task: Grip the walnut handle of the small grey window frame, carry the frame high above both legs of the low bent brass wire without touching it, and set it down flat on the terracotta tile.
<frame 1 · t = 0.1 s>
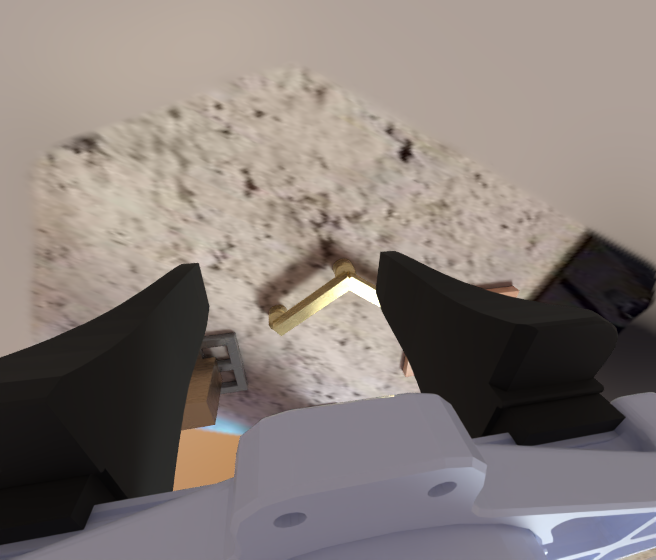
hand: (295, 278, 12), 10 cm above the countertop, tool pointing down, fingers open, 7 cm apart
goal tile: (454, 331, 30), on the countertop
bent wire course: (342, 267, 24), on the countertop
grey window frame: (202, 365, 27), on the countertop
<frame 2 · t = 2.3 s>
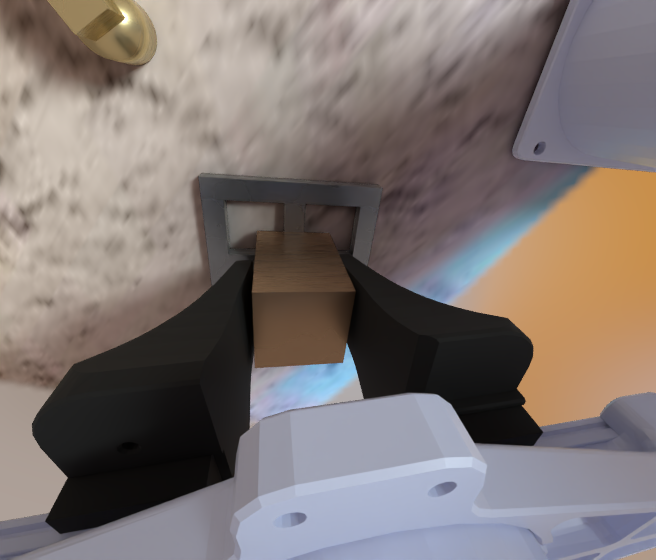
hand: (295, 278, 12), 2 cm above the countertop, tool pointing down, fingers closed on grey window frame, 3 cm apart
grey window frame: (291, 257, 13), on the countertop, touching gripper
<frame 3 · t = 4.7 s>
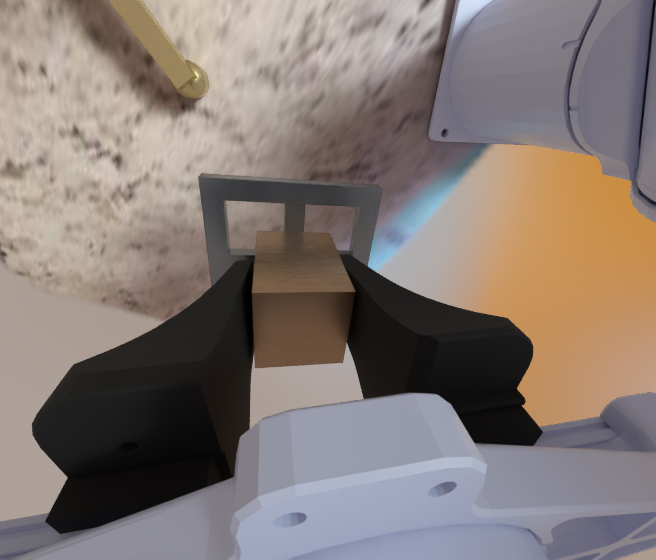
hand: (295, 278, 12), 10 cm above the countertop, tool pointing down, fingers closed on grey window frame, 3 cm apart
grey window frame: (291, 257, 13), point 8 cm above the countertop, touching gripper
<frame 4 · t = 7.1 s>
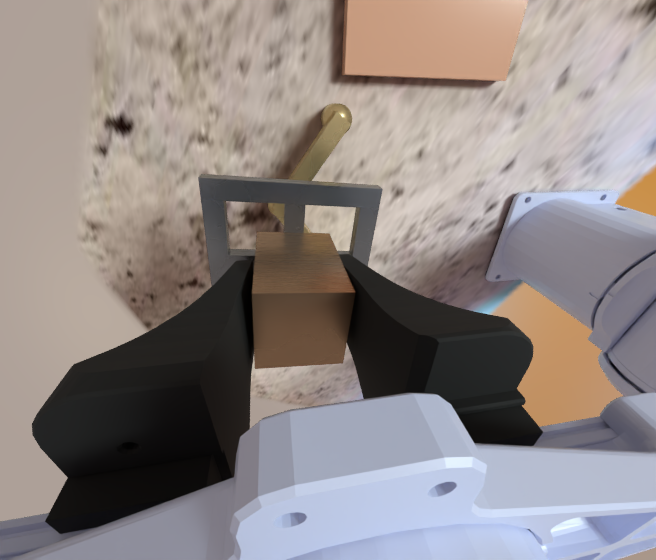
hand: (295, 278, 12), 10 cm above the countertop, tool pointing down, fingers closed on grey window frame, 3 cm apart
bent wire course: (279, 198, 20), on the countertop
grey window frame: (291, 258, 13), point 8 cm above the countertop, touching gripper
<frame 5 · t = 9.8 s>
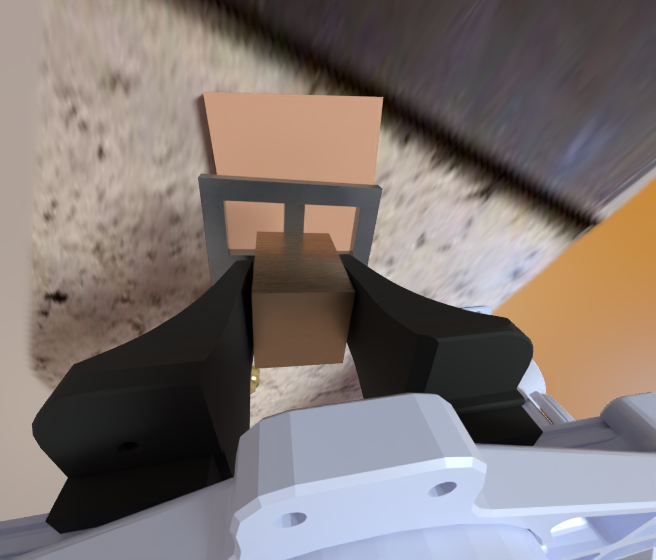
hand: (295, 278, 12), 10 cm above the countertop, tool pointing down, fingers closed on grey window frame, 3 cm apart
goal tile: (298, 183, 19), on the countertop
grey window frame: (291, 257, 13), point 8 cm above the countertop, touching gripper
when the fingers open (4 cm above the countertop, at t = 12.1 s): grey window frame drops 2 cm, resting on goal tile.
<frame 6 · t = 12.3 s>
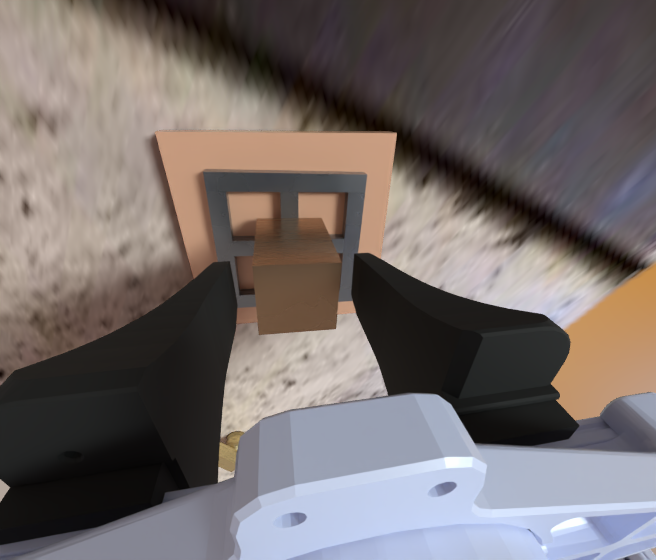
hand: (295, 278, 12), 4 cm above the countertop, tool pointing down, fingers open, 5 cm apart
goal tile: (288, 235, 15), on the countertop
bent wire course: (168, 401, 20), on the countertop
grey window frame: (289, 242, 15), point 1 cm above the countertop, touching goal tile
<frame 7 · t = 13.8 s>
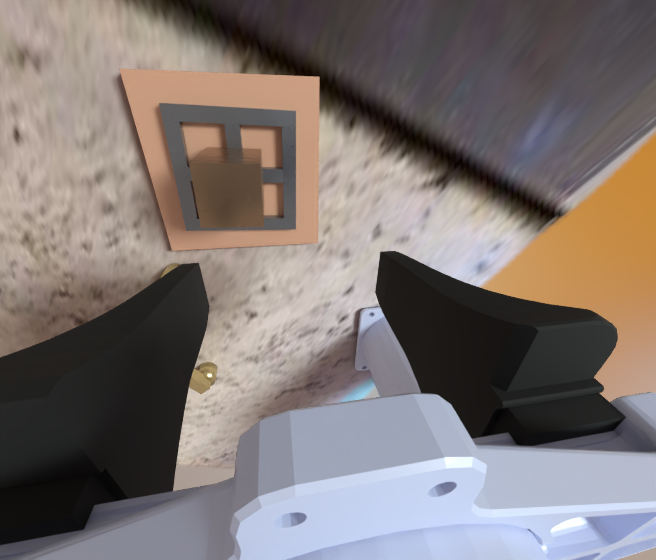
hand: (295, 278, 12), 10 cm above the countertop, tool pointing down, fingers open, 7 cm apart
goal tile: (239, 170, 19), on the countertop
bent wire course: (144, 327, 23), on the countertop
grey window frame: (238, 172, 18), point 1 cm above the countertop, touching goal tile
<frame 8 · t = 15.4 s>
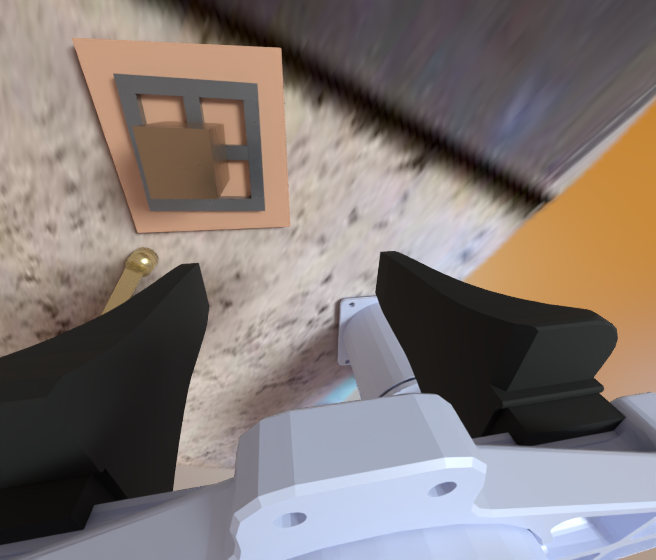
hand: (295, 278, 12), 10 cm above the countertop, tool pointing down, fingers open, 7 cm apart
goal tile: (204, 148, 18), on the countertop
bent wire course: (115, 315, 23), on the countertop
grey window frame: (201, 150, 17), point 1 cm above the countertop, touching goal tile
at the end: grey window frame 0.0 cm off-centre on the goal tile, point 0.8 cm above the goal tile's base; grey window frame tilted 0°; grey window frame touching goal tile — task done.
